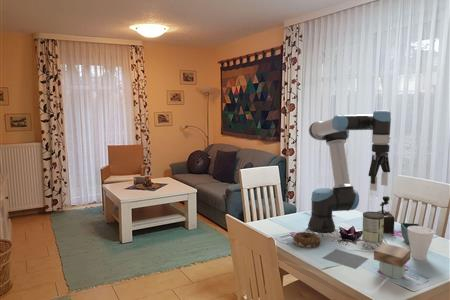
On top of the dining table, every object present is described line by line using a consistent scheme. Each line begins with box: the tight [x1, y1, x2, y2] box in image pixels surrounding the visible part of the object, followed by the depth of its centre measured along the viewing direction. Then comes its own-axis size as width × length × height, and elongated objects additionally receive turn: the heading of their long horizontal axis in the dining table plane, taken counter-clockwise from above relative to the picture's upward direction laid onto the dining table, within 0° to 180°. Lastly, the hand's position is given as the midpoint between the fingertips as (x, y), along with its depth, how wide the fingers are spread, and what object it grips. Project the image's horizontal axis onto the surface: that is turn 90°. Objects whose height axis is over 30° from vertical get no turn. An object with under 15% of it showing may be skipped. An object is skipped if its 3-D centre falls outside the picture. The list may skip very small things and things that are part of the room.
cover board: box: [373, 242, 411, 268], centre depth 143 cm, size 11×11×4 cm
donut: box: [293, 231, 321, 248], centre depth 176 cm, size 14×14×5 cm
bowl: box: [378, 261, 406, 279], centre depth 144 cm, size 9×9×6 cm
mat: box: [322, 248, 369, 270], centre depth 157 cm, size 16×14×1 cm
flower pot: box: [400, 222, 421, 245], centre depth 175 cm, size 9×9×9 cm
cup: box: [407, 225, 434, 261], centre depth 158 cm, size 10×10×14 cm
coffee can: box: [361, 211, 384, 245], centre depth 179 cm, size 10×10×14 cm
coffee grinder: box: [377, 195, 395, 235], centre depth 196 cm, size 16×11×18 cm
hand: (378, 187), depth 162 cm, fingers open, 13 cm apart
